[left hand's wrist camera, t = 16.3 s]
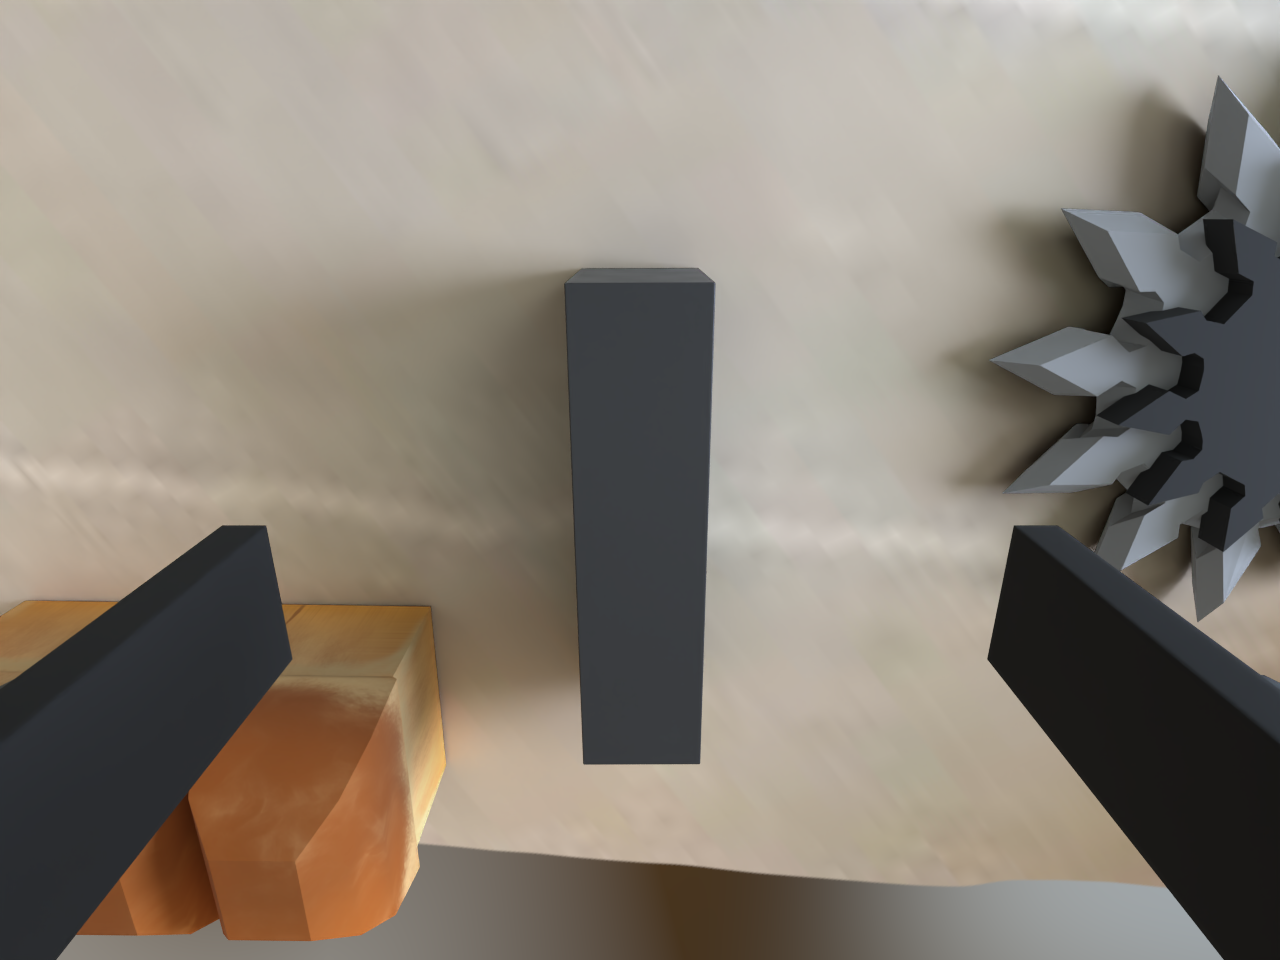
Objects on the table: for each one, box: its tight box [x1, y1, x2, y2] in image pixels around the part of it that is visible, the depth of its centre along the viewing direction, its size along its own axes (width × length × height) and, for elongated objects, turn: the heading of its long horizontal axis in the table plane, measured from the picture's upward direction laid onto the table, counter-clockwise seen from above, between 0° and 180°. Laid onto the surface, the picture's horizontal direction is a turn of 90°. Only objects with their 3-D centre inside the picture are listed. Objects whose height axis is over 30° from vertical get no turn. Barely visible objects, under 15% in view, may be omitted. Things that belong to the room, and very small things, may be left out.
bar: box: [564, 268, 715, 764], centre depth 36 cm, size 24×6×8 cm, turn 0°
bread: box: [0, 601, 446, 941], centre depth 38 cm, size 25×12×15 cm, turn 89°
